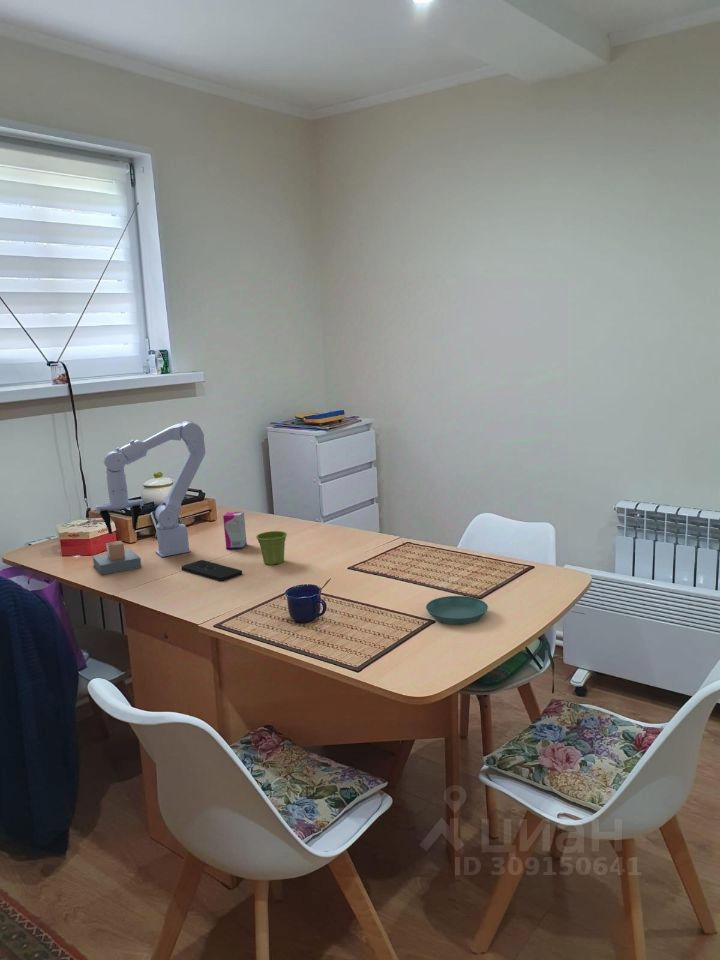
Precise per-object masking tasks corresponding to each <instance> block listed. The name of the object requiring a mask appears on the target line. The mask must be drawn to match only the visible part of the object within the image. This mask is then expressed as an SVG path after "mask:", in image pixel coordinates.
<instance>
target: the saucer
mask: <svg viewBox="0 0 720 960" xmlns="http://www.w3.org/2000/svg"><path fill="white" fill-rule="evenodd" d="M425 609H426V610H427V612H428V613H429V615H430V616H431V617H432V618H433V619H435V620H436V621H437V622H440V623H442V624H447V625H454V626H455V625H460V626H461V625H468V624H471V623H475V622H477V621H478V620H480V619H481V618H482V617H483V616H484V615H485V614H486V613H487V611H488V609H489V607H488V604H487V603H486V602H485V601H483V600H482V599H479V598H475V597H472V596H466V595H463V596H462V595H447V596H440V597H437V598H434V599H432V600H431V601H429V602H428V603H426V605H425Z"/></svg>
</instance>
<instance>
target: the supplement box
mask: <svg viewBox="0 0 720 960" xmlns="http://www.w3.org/2000/svg"><path fill="white" fill-rule="evenodd" d="M222 518H223V527H224V530H223V531H224V537H225V539H224V540H225V549H226V550H243V549H244V548H245V547H246V546H247V544H248V543H247V533H246V532H247V531H246V522H245V521H246V520H245V511H227V512H226V513H225V514H224V515H223V516H222Z"/></svg>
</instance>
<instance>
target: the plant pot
mask: <svg viewBox="0 0 720 960" xmlns="http://www.w3.org/2000/svg"><path fill="white" fill-rule="evenodd" d="M287 536H288V533H287V532H286V531H283V530H282V531H280V530H272V531H264V532H262V533H261V532H260V533H258V534H256V536H255V537H256V540H257V541H258V543H259V547H260V551H261V555H262V560H263V564H265V565H266V566H267V565H271V566H274V565H275V564H282V563H284V561H285V545H286V544H285V542H286V538H287Z"/></svg>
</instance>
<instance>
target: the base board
mask: <svg viewBox="0 0 720 960" xmlns="http://www.w3.org/2000/svg"><path fill="white" fill-rule="evenodd" d="M124 553H125V558H121V559H115V560H109V558H108V556H107V553H103V554H98V555H93V556H92V562H93V566H94V568H95V567H96V568H95V569H96V570H97V571H98V573H100V575H101V576H104V575H107V574H108V573H109V574H113V573H114V574H115V573H119V572H123V571H124V572H125V571H129V570H133V569H138V568H142V562H141V557H140V556H139V555H138V554H137V553H136V552H135V551H134V550H133V549H132V548H131V549H124ZM118 571H119V572H118ZM103 574H104V575H103Z"/></svg>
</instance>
